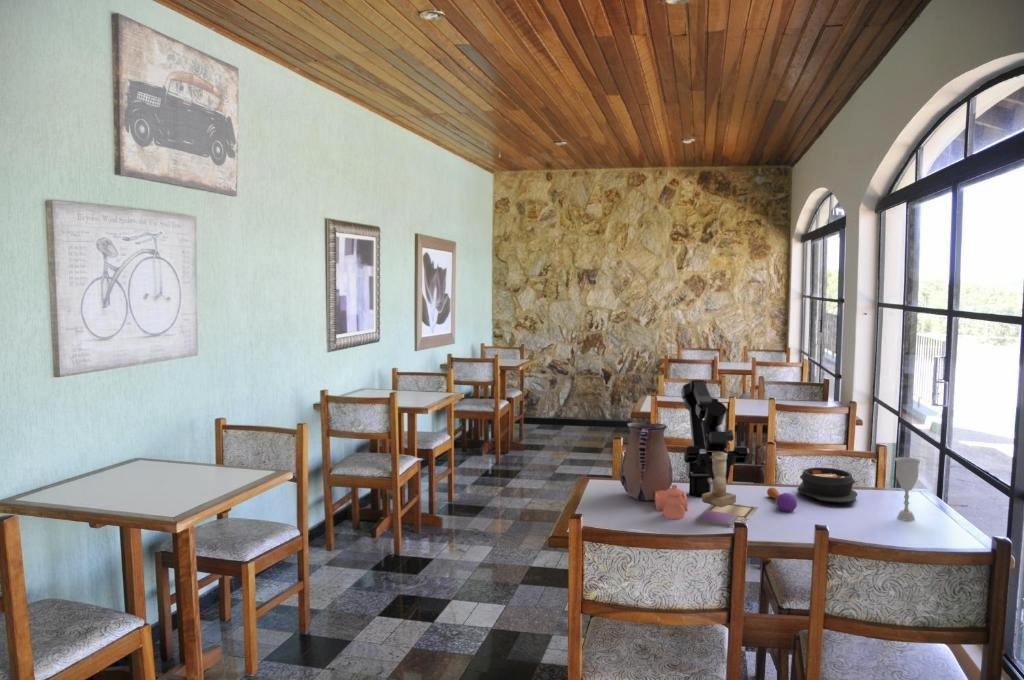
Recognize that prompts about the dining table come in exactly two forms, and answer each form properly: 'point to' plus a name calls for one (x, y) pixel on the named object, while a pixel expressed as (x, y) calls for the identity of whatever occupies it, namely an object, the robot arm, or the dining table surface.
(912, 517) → the chalice
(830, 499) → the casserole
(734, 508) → the stamp board
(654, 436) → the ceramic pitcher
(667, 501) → the pottery
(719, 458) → the stamp
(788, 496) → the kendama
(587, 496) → the dining table surface
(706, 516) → the ink pad
